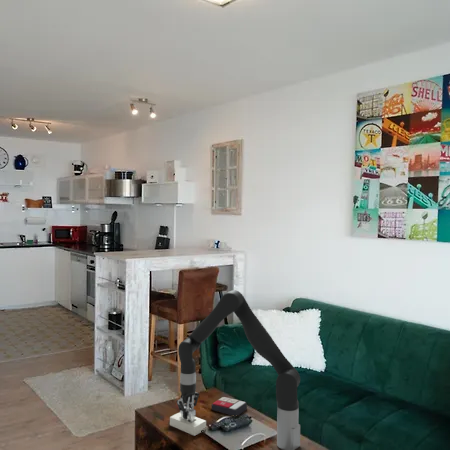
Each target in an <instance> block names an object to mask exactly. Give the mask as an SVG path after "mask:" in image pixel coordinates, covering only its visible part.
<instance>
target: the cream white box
mask: <svg viewBox="0 0 450 450" xmlns="http://www.w3.org/2000/svg"><path fill="white" fill-rule="evenodd" d="M169 425H170V427H173V428H176V429H178V430H180V431H182V432H185V433H188V434H189V435H191V436H196V435H199V434H200V433H202V432H201V430H202V429H203V428H205V427H206V428H207V420H205V419H202V418H200V417H197V416H195V421H194V422H192V423H190V422H189V416H188V419H184V420H183V419H181V413H180V411H179V412H177V413H175V414H172V415H171V416H169Z"/></svg>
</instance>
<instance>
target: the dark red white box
mask: <svg viewBox="0 0 450 450" xmlns="http://www.w3.org/2000/svg"><path fill="white" fill-rule="evenodd" d="M247 405H248V403H247V402H246V401H242V400H239V399H235V398H230V397H227V396H226V397H225V396H222V397H221V398H219V399H217V400H216V401H214V402H212V404H211V410H212V411H215V412H218V411H219V413H221V414H225V415H228V416H231V415H234V416H236V415H238V416H240V415H241V414H242V413H244V412H245V411H246V410H248V406H247ZM234 416H233V417H234Z"/></svg>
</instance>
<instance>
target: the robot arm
mask: <svg viewBox="0 0 450 450" xmlns="http://www.w3.org/2000/svg"><path fill="white" fill-rule="evenodd" d="M232 313H234V314H235V316H236V317H237V318H238V320H239V321H240V323H241V326H242V328H243V331H244V334H245V336H246V338H247V341H248V342H249V343H250V345H251V347H252V348H253V349H254V350H255V352H256V353H257V354H258V355H260V357H262V358H263V359H264V360H266V361H267V362H268V363H269V364H270V365H271V366H272V367H273V369H274V370H275V371H276V373H277V377H276V380H275V397H276V398H275V399H276V400H275V401H276V405H277V406H276V407H277V408H276V409H277V412H276V414H277V415H276V446H277V447H278V448H279V449H281V450H297V449H298V448H299V447H300V446H301V423H300V424H299V410H300V409H299V408H300V407H299V404H300V403H299V400H298V387H299V385H300V384H301V376H300V373H299V372H298V370H297V369H296V368H295V367H294V365H292V363H291V362H290V361H289V360H288V359H287V358H286V357H285V355H284V353H283V352H282V351H281V349H280V348H279V347H278V344H277V343H276V342H275V340H274V339H273V338H272V336H271V335H270V333H269V332H268V330H267V329H266V328H265V327H264V326H263V325H264V324H262V323H261V321H260V320H259V318H258V317H257V316H256V315H255V313H254V311H253V310H252V309H251V307H250V305H249V304H248V301H247V300H246V298H245V297H244V295H243V293H242V292H240V291H239V290H235V289H232V290H229V291H227V292H225V293H224V294H223V295H222V296H221V298H220V299H219V301H218V302H217V304H216V305H215V307H214V308H213V309H212V311H211V312H209V314H208V315H207V316H206V317H205V318H204V319H203V320H202V321H201V322H200V323H199V324H198V325H197V326H196V327H195V328H194V329H193V330H192V333H191V334H189V336H188V337H187V338H186V339H184V340H183V341H182V342H180V343H179V344H178V349H177V351H178V353H177V354H178V358H179V361H180V374H179V377H180V378H179V391H180V394H181V395H180V397H179V399H176V400H175V403H176V405H177V407H178V410H179V411H180V410H181V411H183V418H184V419H188V416H187V410H188V407H190V408H192V409H195V407H196V406H197V404H198V400H199V396H200V393H199V392H196V390H197V374H196V368H197V367H196V361H195V359H194V358H193V354H194V353H195V351H197V350H198V349H199V348H200V346H201V345H202V343H204V342H205V341H206V340H207V339H208V338H209V337H210V336H211V335H212V334H213V332H214V331H215V330H216V329H217V327H218V326H219V324H220V323H221V322H222V321H223V320H225V318H226V317H228V316H230V314H232Z"/></svg>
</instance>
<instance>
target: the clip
mask: <svg viewBox="0 0 450 450" xmlns="http://www.w3.org/2000/svg"><path fill="white" fill-rule="evenodd" d="M179 412H180V413H181V419H183V420H184V418H183V411H181V410H179ZM187 416H189V422H190V423H192V422H194V421H195V417H196V409H195V408H193V409H192V408H190V407H188V410H187Z"/></svg>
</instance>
